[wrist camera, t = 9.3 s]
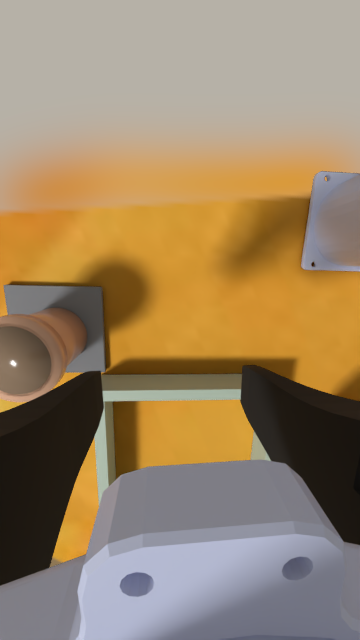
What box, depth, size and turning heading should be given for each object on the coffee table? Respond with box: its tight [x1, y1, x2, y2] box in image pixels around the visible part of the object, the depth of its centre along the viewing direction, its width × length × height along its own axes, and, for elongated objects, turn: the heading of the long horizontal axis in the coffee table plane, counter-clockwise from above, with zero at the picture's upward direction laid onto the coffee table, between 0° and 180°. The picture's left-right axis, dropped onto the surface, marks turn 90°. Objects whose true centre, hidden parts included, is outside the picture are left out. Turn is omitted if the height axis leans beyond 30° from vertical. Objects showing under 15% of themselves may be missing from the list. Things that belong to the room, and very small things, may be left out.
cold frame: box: [95, 374, 271, 505], centre depth 22 cm, size 17×17×5 cm
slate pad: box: [4, 285, 106, 372], centre depth 21 cm, size 8×8×1 cm
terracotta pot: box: [0, 307, 87, 402], centre depth 17 cm, size 6×6×6 cm
